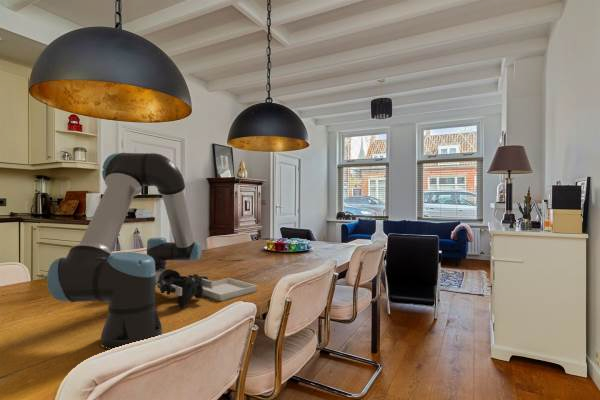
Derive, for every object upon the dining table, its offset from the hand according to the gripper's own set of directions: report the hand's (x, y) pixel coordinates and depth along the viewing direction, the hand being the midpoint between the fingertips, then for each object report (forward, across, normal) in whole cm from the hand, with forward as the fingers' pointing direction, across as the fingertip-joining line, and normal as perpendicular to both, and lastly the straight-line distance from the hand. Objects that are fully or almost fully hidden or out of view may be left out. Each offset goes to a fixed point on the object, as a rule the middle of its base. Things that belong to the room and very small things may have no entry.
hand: (197, 288), depth 120 cm
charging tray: (-8, -18, -6) cm, 21 cm away
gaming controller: (-4, 0, -6) cm, 7 cm away
